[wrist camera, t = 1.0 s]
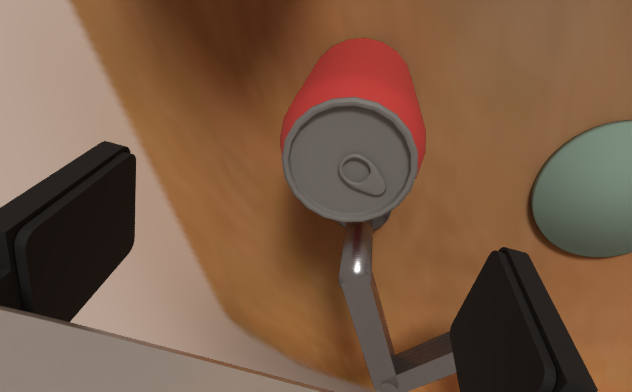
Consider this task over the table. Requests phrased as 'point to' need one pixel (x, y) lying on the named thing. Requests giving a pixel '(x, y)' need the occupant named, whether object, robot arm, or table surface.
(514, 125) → the table surface
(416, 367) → the zigzag metal bar linkage
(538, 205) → the coaster
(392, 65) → the beer can
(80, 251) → the robot arm
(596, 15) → the table surface
